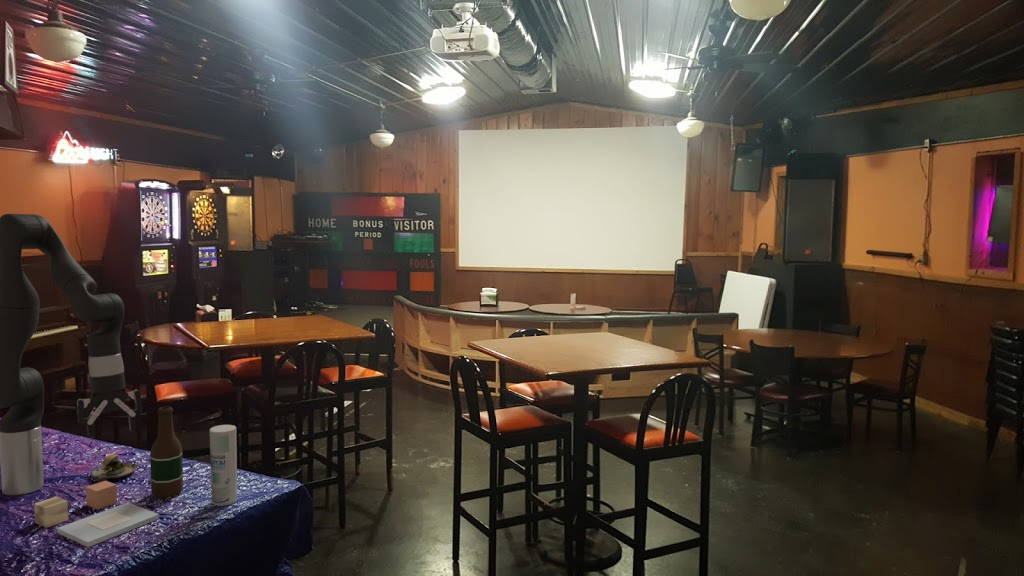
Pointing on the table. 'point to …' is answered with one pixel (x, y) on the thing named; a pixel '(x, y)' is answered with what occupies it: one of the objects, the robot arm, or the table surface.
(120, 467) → the burger
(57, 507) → the maple block
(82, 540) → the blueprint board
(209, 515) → the table surface
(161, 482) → the beer bottle
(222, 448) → the spray can
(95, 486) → the terracotta block
